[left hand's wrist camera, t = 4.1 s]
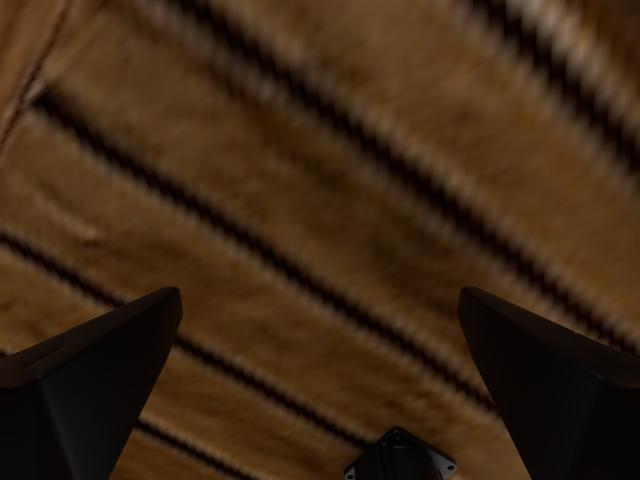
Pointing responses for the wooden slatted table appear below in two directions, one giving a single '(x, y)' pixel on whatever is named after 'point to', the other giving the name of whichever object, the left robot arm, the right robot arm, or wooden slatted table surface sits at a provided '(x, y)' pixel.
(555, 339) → the left robot arm
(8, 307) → the wooden slatted table surface
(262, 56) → the wooden slatted table surface
